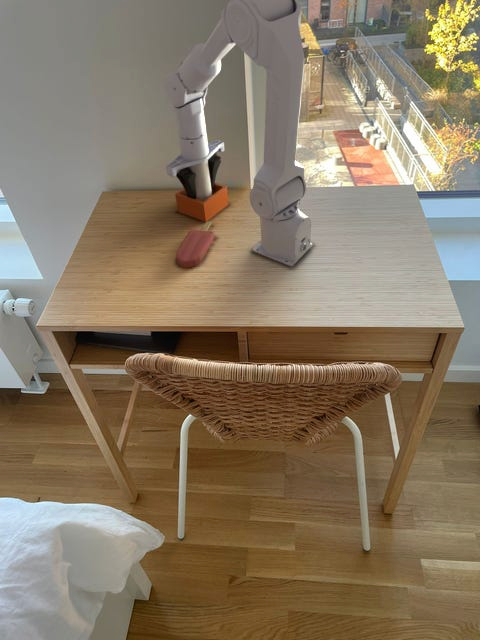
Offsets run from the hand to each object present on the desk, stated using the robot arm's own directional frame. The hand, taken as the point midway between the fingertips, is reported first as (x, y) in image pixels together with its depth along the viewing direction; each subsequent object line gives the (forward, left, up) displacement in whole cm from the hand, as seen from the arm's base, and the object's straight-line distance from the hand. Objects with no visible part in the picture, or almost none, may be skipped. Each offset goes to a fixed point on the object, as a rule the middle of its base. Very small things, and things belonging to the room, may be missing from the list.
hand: (201, 192), depth 108 cm
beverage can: (0, 0, -4) cm, 4 cm away
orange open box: (0, 0, -4) cm, 4 cm away
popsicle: (-8, +11, -4) cm, 15 cm away
